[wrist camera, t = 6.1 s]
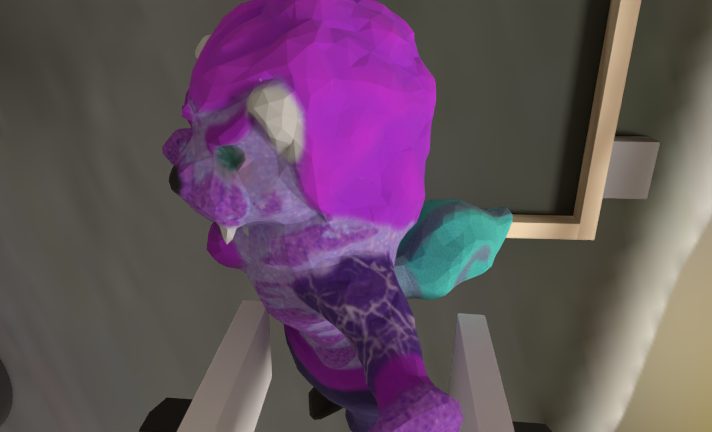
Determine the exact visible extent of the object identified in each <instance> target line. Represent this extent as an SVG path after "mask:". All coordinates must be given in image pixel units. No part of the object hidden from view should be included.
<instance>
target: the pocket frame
mask: <svg viewBox="0 0 712 432" xmlns="http://www.w3.org/2000/svg"><path fill="white" fill-rule="evenodd" d="M640 4H641V0H611V3H610V9H609V15H608V20H607V26H606V32H605V37H604V43H603V49H602V54H601V60H600V66H599V71H598V77H597V83H596V88H595V94H594V100H593V105H592V111H591V117H590V122H589V128H588V134H587V139H586V145H585V151H584V157H583V162H582V168H581V174H580V179H579V185H578V191H577V196H576V202H575V208H574V213H573V216H556V215H516V214H512V216H513V220H512V223H511V226H510V229H509V231H508V234H507V236H506V238H539V239H576V240H594V238H595V233H596V228H597V223H598V218H599V213H600V208H601V203H602V198H624V199H647V196H648V192H649V188H650V183H651V179H652V175H653V170H654V166H655V162H656V157H657V153H658V149H659V144H660V142H659V141H657V140H655V139H653V138H651V137H645V136H615V131H616V126H617V121H618V116H619V111H620V106H621V101H622V96H623V91H624V86H625V80H626V75H627V70H628V65H629V60H630V55H631V50H632V45H633V40H634V35H635V30H636V24H637V19H638V14H639V9H640Z"/></svg>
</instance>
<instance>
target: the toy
mask: <svg viewBox="0 0 712 432" xmlns="http://www.w3.org/2000/svg"><path fill="white" fill-rule="evenodd" d="M195 57H196V58H197V62H196V64H195V66H194V68H193V71H192V76H191V81H190V86H189V89H188V91H187V93H186V97H185V103H184V104H185V105H184V106H182V117H183V118H186V119H188V122H189V124H190V126H191V127H192V128H185V129H178V130H176V131H175V132H174V133H173V134H172V135H171V136H170V138H169V139H168V140H167V141H166V143H165V144H164V145H163V146H162V150H163V154H164V155H165V156H166V158H167V159H168V160H169V161H170V162H171V164H173V165H174V166H173V168H172V170H171V173H170V176H169V183H170V186H171V189H172V190H173V191H174V192H175V193H176V194H177V195H179V196H180V197H181V198H182V199H183V200H185V201H186V202H187V203H188V204H189V205H190V206H191V207H192V208H193V209H194V210H195V211H196V212H197V213H199V214H201V215H202V216H204V217H205V218H207V219H209V220H210V221H213V222H214V223H213V224H212V225H211V228H210V230H209V233H208V242H207V250H208V252H209V253H210V254H211V256H212V257H213V258H214V259H215V260H216V261H217V262H218V263H220V264H222V265H224V266H227V267H231V268H237V269H241V270H242V271H243V272H245V273H246V274H247V275H248V277H249V279H250V281H251V283H252V284H253V286H254V288H255V290H256V292H257V294H258V296H259V297H260V299H261V301H262V303H263V305H264V307H265V308H266V310H267V311H268V312H269V313H270V314H271V315H272V316H273V317H274V318H275V319H276V320H278V321H280V322H282V323H284V330H285V335H286V340H287V344H288V346H289V349H290V351H291V354H292V356H293V359H294V361H295V364H296V366H297V369H298V370H299V371H300V373H301V374H302V375H303V376H304V377H305V378H306V380H307V381H308V382H309V383H310V384H311V385H313V386H314V387H313V388H312V390H311V391H310V392H309V410H310V416H311V417H312V418H313V419H314V420H316V419H322V418H324V417H326V416H328V415H330V414H332V413H334V412H337V411H338V410H340V409H342V408H345V409H346V414H345V415H346V419H347V422H348V425H349V428H350V430H351V431H352V432H459V429H460V427H461V424H462V422H463V419H464V418H463V414H462V411H461V407H460V404H459V402H458V401H457V400H455V399H454V398H452V397H451V396H449V395H448V394H446V393H445V392H443V391H442V390H440V389H439V388H437V387H436V386H434V384H433V383H432V382H431V380H430V379H429V377H428V376H427V373H426V369H425V366H424V363H423V358H422V351H421V346H420V343H419V339H418V336H417V332H416V328H415V320H414V316H413V313H412V311H411V309H410V306H409V304H408V301H407V299H411V298H417V299H424V300H430V299H437V298H440V297H443V296H445V295H446V294H447V293H448V292H449V291H451V290H452V289H453V288H454V287H455V286H457V285H458V284H459V283H461V282H463V281H465V280H468V279H470V278H473V277H475V276H478V275H480V274H483V273H484V272H485V271H486V270H488V269H489V268H490V267H491V266H492V264H493V261H494V258H495V255H496V254H497V253H498V251H499V249H500V247H501V245H502V243H503V241H504V240H505V238H506V236H507V234H508V231H509V229H510V226H511V223H512V220H513V216H512V213H511V212H510V211H509V210H508V208H507V207H496V208H492V209H488V210H483V209H480V208H478V207H476V206H475V205H473V204H471V203H468V202H464V201H460V200H456V199H446V200H430V201H425V202H424V199H425V190H424V174H425V160H426V158H427V156H428V153H429V151H430V131H431V123H432V118H433V113H434V108H435V103H436V84H435V79H434V77H433V76H432V75H431V73H430V72H429V70H428V69H427V67H426V66H425V65H424V63H423V62H422V60H421V59H420V57H419V54H418V51H417V48H416V44H415V40H414V32H413V30H412V29H411V28H410V27H409V25H408V24H407V23H406V22H405V21H404V20H403V19H402V18H400V17H399V16H398V15H396V14H395V13H393V12H392V11H390V10H389V9H387V7H386V6H385V5H383V4H381V3H379V2H377V1H376V0H252V1H248V2H245V3H241V4H240V5H238V6H237V7H236V8H234V9H233V10H232V11H231V12H229V13H228V14H227V15H226V16H224V17H223V19H222V20H221V22H220V23H219V25H218V26H217V28H216V29H215V30H214V32H213V33H212V34H210V35H207V36H204V37H203V39H202V40H201V42H200V43H199V45H198V46H197V48H196V51H195Z"/></svg>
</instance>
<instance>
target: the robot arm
mask: <svg viewBox="0 0 712 432" xmlns="http://www.w3.org/2000/svg"><path fill="white" fill-rule="evenodd" d="M271 378H272V370H271V349H270V327H269V312H268V311H267V310H266V308H265V307H264V305H263V303H262V301H247V300H243V301H242V303H241V305H240V307H239V309H238V311H237V313H236V315H235V317H234V319H233V321H232V323H231V325H230V327H229V329H228V331H227V333H226V335H225V337H224V339H223V341H222V343H221V345H220V346H219V348H218V350H217V352H216V354H215V356H214V358H213V360H212V362H211V364H210V366H209V368H208V370H207V372H206V374H205V376H204V378H203V380H202V382H201V384H200V386H199V388H198V390H197V392H196V394H195V396H194V398H193V400H192V399H178V398H166V399H165V400H163V401H162V402H161V403H160V404H159V405H158V406H156V407H155V408H154V409H153V410H152V411H151V412H149V414H148V416H147V418H146V419H145V421H144V423H143V424H142V426H141V428H140V429H139V432H254V430H255V427H256V424H257V421H258V417H259V414H260V411H261V408H262V405H263V402H264V399H265V396H266V393H267V390H268V387H269V384H270V381H271ZM449 393H450V396H451V397H452V398H454V399H455V400H457V401H458V402H459V404H460V407H461V411H462V414H463V418H464V419H463V422H462V424H461V427H460V429H459V432H552V431H551V430H550V429H549V428H548V427H547V426H546V424H539V423H525V422H512V419H511V416H510V412H509V408H508V404H507V400H506V396H505V392H504V388H503V384H502V381H501V377H500V373H499V369H498V365H497V361H496V357H495V353H494V350H493V346H492V342H491V338H490V334H489V330H488V326H487V322H486V318H485V315H475V314H459V313H458V316H457V325H456V333H455V342H454V350H453V359H452V368H451V376H450V385H449ZM11 406H12V387H11V382H10V379H9V376H8V374H7V371H6V369H5V367H4V365H3V364H2V362H1V360H0V426H1V425H2V424H3V423H4V421H5V420H6V418H7V417H8V415H9V412H10V410H11Z"/></svg>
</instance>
